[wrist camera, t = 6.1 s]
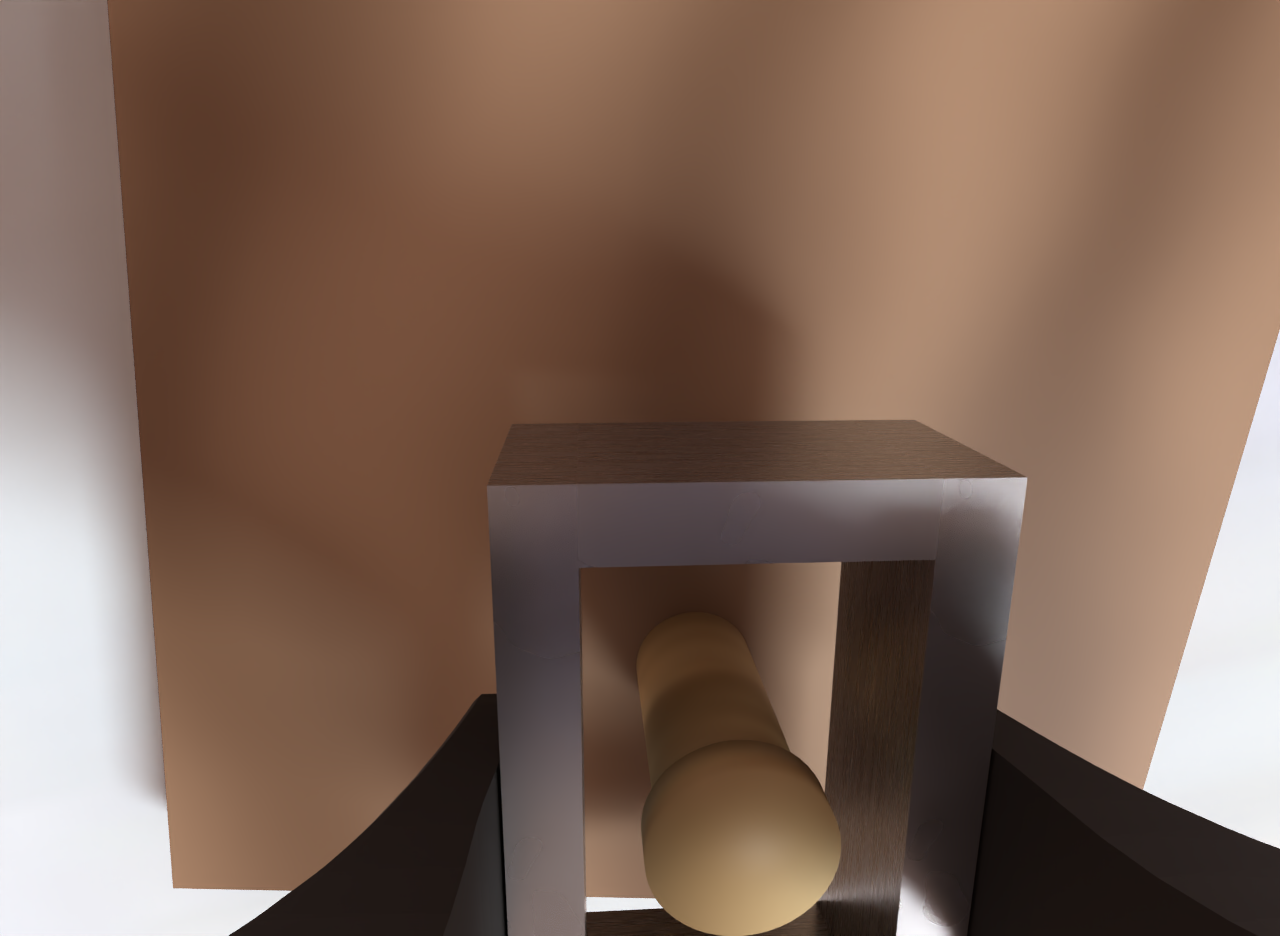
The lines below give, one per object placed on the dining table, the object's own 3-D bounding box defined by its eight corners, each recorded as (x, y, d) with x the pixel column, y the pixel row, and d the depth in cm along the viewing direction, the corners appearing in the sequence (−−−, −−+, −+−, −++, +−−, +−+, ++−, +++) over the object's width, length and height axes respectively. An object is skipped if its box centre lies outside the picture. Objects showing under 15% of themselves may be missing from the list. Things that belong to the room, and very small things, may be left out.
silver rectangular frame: (914, 419, 11) (1027, 477, 8) (865, 941, 14) (941, 1126, 11) (511, 423, 11) (485, 485, 8) (532, 959, 13) (518, 1155, 10)
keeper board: (1454, -566, 11) (2369, -1410, 6) (1065, 853, 18) (1301, 1155, 12) (112, -841, 10) (-581, -2439, 4) (209, 830, 16) (-3, 1166, 10)
